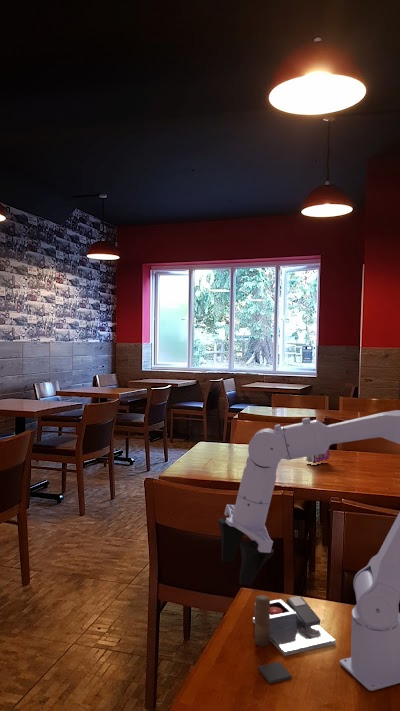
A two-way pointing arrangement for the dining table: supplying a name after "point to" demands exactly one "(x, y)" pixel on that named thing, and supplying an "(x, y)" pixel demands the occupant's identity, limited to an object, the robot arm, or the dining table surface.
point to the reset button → (275, 610)
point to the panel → (294, 632)
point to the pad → (274, 672)
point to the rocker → (303, 611)
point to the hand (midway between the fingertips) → (235, 571)
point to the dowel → (262, 620)
